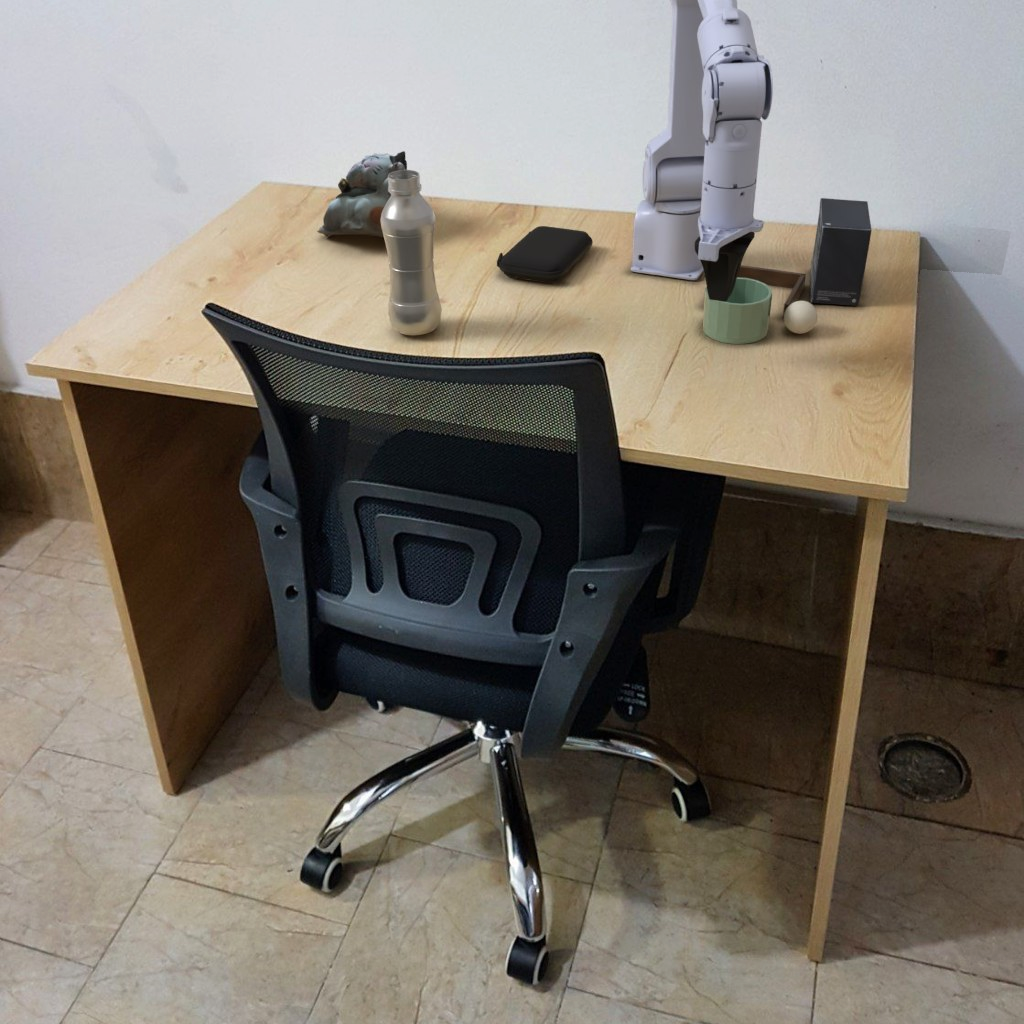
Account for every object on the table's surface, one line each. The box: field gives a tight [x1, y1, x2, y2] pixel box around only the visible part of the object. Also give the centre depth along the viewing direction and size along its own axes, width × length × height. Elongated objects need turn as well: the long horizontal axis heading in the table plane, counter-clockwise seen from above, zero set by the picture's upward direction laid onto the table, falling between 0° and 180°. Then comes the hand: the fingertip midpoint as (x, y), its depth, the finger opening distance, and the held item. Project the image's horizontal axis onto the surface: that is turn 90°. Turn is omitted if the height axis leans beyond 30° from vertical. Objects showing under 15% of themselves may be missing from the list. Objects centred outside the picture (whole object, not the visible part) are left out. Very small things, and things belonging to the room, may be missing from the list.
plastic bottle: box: [380, 169, 443, 336], centre depth 138 cm, size 6×7×20 cm
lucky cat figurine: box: [316, 150, 408, 238], centre depth 168 cm, size 15×12×14 cm
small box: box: [809, 197, 873, 307], centre depth 147 cm, size 11×6×10 cm, turn 168°
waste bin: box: [702, 277, 773, 345], centre depth 140 cm, size 8×8×5 cm
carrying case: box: [496, 225, 594, 284], centre depth 159 cm, size 11×3×15 cm
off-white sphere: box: [783, 300, 819, 335], centre depth 139 cm, size 4×4×4 cm
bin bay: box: [737, 264, 807, 319], centre depth 148 cm, size 11×10×2 cm
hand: (720, 296), depth 129 cm, fingers closed
